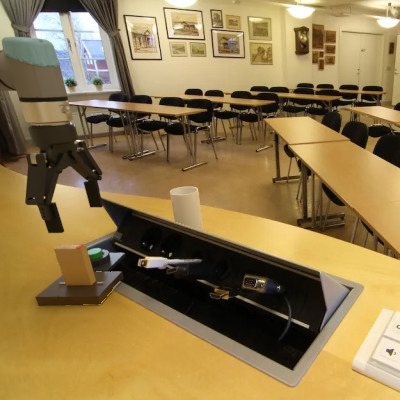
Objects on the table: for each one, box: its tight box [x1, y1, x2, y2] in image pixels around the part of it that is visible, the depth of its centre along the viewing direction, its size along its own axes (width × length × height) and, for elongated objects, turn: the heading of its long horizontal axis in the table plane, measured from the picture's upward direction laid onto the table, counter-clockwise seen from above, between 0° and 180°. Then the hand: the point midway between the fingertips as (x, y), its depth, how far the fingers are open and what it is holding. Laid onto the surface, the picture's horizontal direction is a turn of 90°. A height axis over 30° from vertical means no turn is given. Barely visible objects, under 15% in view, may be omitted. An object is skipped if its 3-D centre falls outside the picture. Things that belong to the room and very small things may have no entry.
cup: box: [169, 185, 205, 232], centre depth 103 cm, size 8×8×16 cm
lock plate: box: [34, 271, 125, 307], centre depth 78 cm, size 14×10×3 cm
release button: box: [87, 247, 103, 260], centre depth 88 cm, size 4×4×2 cm
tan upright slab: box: [53, 243, 96, 286], centre depth 75 cm, size 6×2×10 cm, turn 92°
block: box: [90, 249, 127, 272], centre depth 89 cm, size 11×9×3 cm
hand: (78, 218), depth 72 cm, fingers open, 13 cm apart
